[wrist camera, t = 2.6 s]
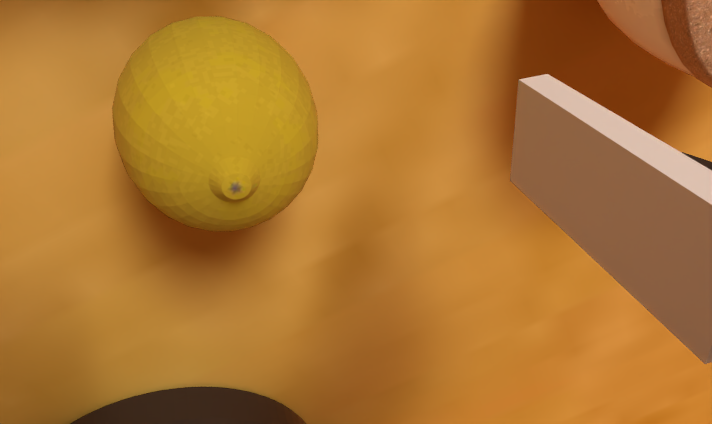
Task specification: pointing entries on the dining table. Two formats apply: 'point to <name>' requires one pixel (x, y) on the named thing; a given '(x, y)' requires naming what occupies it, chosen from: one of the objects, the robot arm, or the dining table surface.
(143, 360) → the dining table surface
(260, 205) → the lemon
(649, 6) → the lidded jar
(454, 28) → the dining table surface
